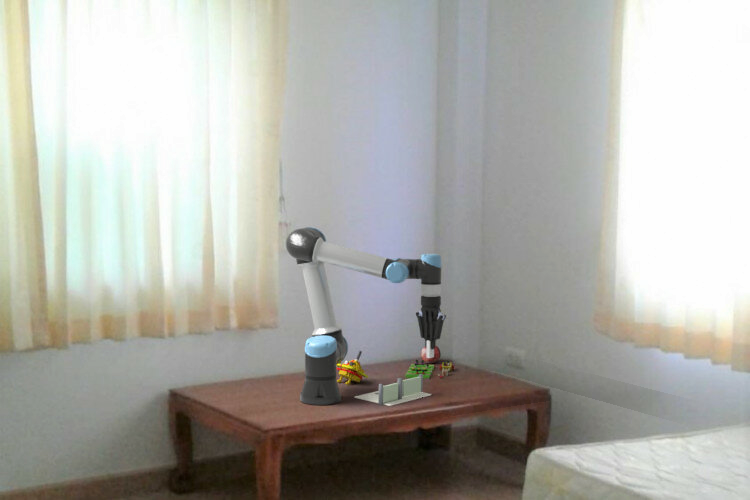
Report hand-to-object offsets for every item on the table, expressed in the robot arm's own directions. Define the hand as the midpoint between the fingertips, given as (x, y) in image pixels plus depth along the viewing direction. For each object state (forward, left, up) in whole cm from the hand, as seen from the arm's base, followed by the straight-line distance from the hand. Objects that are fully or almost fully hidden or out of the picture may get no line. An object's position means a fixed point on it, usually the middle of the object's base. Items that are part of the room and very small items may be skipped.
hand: (430, 357), depth 343 cm
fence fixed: (-14, +7, -16) cm, 22 cm away
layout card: (-7, +12, -16) cm, 21 cm away
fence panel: (-2, +7, -15) cm, 17 cm away
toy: (-1, +40, -16) cm, 43 cm away
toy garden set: (+37, +29, -17) cm, 50 cm away
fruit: (+54, +43, -16) cm, 71 cm away
